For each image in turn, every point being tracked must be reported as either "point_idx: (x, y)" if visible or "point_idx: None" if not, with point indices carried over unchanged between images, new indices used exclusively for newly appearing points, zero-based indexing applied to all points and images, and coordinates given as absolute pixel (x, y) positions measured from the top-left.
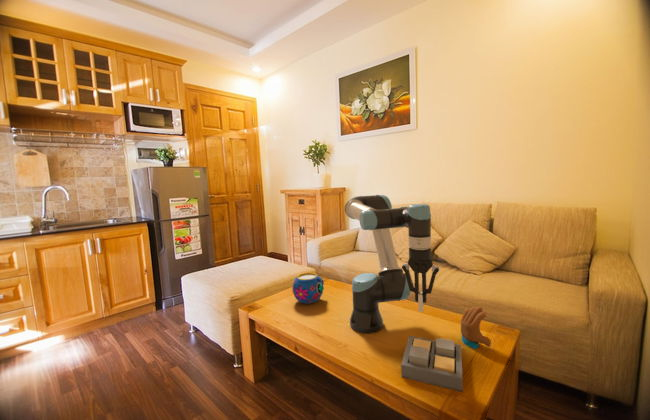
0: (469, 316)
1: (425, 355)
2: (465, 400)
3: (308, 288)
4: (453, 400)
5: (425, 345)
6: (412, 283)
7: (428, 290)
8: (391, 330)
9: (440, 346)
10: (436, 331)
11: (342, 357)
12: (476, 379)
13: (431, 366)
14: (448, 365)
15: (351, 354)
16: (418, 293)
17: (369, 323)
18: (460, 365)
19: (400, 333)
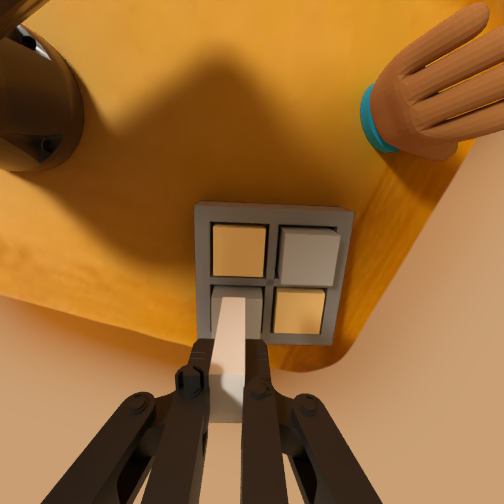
0: (453, 82)
1: (253, 329)
2: None
3: None
4: (302, 348)
5: (250, 255)
6: (120, 470)
7: (296, 467)
8: (121, 116)
9: (295, 278)
10: (280, 70)
11: (47, 302)
12: (357, 282)
13: (267, 327)
14: (307, 321)
15: (62, 284)
16: (209, 410)
17: (26, 158)
18: (335, 304)
19: (157, 128)
